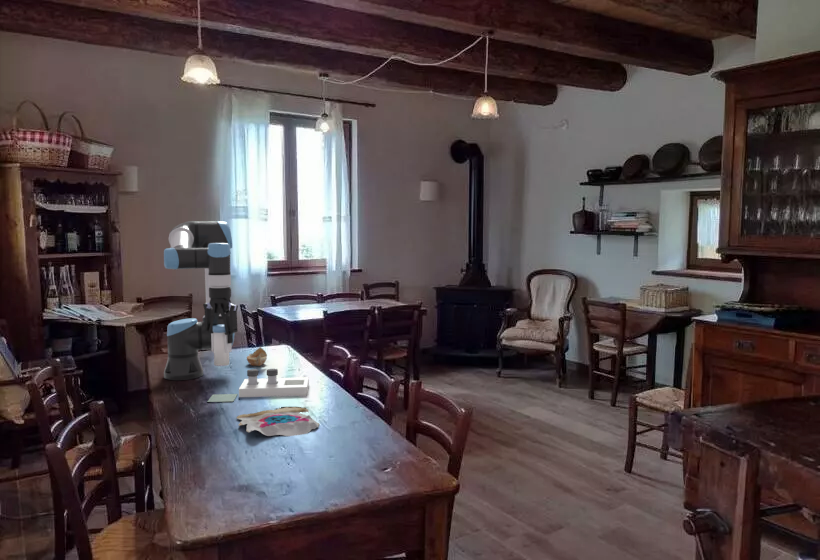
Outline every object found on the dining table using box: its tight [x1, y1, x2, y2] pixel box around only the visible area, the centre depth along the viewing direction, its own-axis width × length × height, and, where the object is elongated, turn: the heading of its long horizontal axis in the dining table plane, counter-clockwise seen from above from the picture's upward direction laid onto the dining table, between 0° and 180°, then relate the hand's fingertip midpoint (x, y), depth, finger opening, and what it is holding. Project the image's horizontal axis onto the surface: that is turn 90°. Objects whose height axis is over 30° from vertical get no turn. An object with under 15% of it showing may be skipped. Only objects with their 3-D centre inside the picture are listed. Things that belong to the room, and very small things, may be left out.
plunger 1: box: [246, 368, 259, 385], centre depth 222 cm, size 4×4×7 cm
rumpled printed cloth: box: [236, 406, 320, 437], centre depth 192 cm, size 24×29×3 cm
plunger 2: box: [266, 368, 279, 385], centre depth 222 cm, size 4×4×7 cm
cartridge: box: [213, 324, 230, 367], centre depth 214 cm, size 6×6×14 cm
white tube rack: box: [238, 376, 310, 398], centre depth 223 cm, size 14×24×4 cm, turn 97°
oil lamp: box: [246, 346, 268, 367], centre depth 268 cm, size 9×21×10 cm, turn 24°
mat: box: [206, 393, 239, 403], centre depth 216 cm, size 9×9×1 cm
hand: (221, 351), depth 214 cm, fingers closed on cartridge, 5 cm apart
